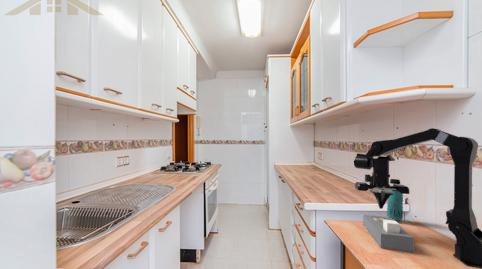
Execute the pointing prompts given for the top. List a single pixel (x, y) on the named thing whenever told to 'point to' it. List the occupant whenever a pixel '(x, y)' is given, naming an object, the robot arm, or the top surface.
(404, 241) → the collar block
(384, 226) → the white peg
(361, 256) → the top surface
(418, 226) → the top surface
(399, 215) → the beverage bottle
